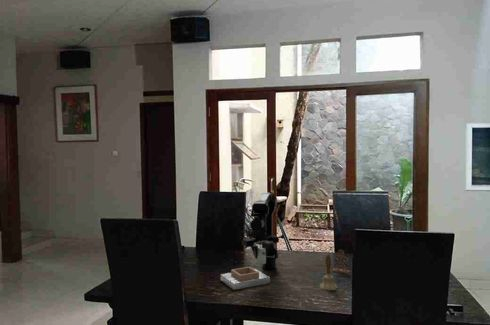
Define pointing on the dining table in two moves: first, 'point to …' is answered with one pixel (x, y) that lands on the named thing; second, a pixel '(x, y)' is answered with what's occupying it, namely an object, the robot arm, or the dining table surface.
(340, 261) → the gingerbread man figurine
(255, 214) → the robot arm
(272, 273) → the dining table surface
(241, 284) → the grey board with frame
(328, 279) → the hand bell
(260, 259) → the spout can
